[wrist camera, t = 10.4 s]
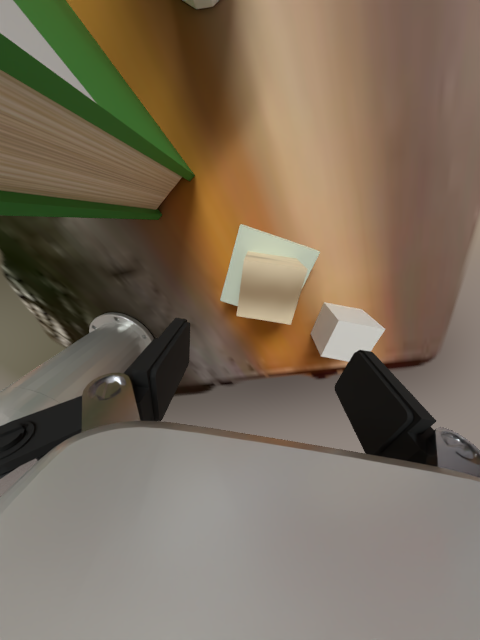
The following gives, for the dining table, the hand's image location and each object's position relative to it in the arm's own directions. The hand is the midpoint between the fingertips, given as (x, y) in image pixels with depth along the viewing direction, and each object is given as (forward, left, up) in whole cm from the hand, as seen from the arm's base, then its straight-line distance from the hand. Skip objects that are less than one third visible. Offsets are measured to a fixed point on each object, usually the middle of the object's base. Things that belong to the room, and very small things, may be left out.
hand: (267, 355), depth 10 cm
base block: (0, 0, -19) cm, 19 cm away
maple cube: (0, -1, -15) cm, 15 cm away
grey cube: (-6, -13, -19) cm, 24 cm away
